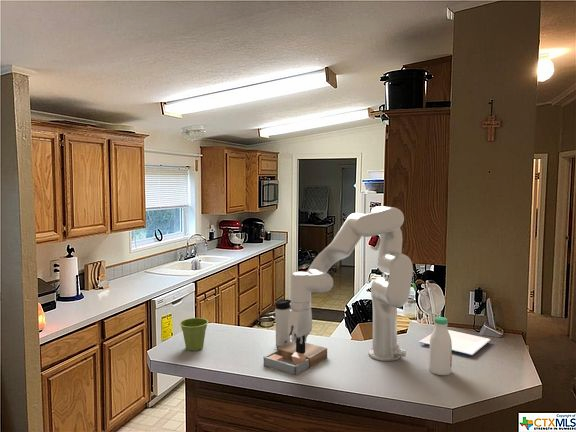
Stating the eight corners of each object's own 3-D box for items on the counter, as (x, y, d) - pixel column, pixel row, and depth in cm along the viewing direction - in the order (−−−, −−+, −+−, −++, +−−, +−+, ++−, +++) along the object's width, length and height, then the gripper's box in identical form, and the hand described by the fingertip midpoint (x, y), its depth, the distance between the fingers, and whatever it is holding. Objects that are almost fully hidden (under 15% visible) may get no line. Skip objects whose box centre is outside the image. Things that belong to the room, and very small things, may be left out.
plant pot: (174, 351, 185) (173, 324, 184) (190, 341, 196) (189, 316, 195) (199, 355, 181) (198, 328, 180) (214, 345, 192) (213, 319, 191)
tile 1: (275, 360, 167) (275, 366, 167) (283, 356, 170) (283, 362, 171) (266, 357, 170) (266, 363, 170) (274, 353, 173) (274, 360, 173)
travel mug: (289, 349, 186) (289, 302, 184) (274, 348, 187) (273, 301, 186) (292, 343, 192) (292, 298, 191) (277, 342, 193) (277, 297, 192)
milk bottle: (448, 377, 158) (449, 322, 156) (426, 373, 162) (427, 319, 161) (453, 369, 165) (454, 317, 163) (432, 365, 169) (433, 313, 167)
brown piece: (327, 358, 176) (327, 348, 176) (310, 368, 167) (310, 358, 167) (294, 349, 186) (294, 339, 186) (276, 358, 177) (276, 348, 176)
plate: (491, 343, 191) (491, 338, 191) (472, 359, 175) (472, 354, 174) (440, 332, 206) (440, 327, 206) (418, 345, 189) (418, 341, 189)
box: (309, 368, 167) (309, 359, 167) (295, 376, 160) (295, 366, 160) (277, 358, 176) (277, 350, 176) (263, 365, 170) (263, 356, 169)
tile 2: (304, 354, 166) (301, 358, 164) (307, 364, 167) (303, 368, 165) (295, 351, 168) (291, 355, 167) (297, 361, 170) (293, 365, 168)
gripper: (304, 299, 175) (303, 344, 176) (280, 307, 163) (280, 356, 164) (320, 302, 170) (319, 349, 172) (297, 311, 158) (297, 361, 160)
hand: (300, 352), depth 168 cm, fingers closed
